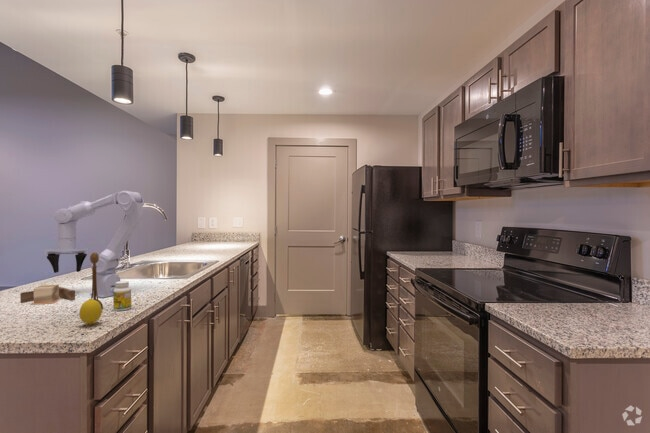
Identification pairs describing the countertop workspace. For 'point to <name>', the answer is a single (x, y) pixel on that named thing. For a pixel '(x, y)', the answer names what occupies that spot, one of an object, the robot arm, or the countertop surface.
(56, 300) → the pad
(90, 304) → the lemon
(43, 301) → the maple cube
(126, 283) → the supplement bottle
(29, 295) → the brown wooden l-shaped block
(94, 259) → the wooden tabletop sculpture
